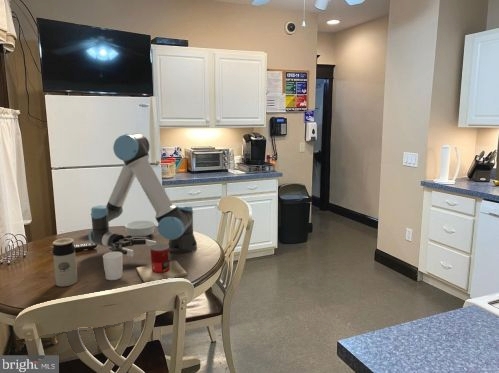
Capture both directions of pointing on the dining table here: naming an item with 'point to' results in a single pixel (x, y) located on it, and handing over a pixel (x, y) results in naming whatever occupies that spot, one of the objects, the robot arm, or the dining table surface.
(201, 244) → the dining table surface
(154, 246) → the canned food
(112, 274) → the white cup
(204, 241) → the dining table surface
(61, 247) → the travel mug
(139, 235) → the cereal bowl
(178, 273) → the cutting board
